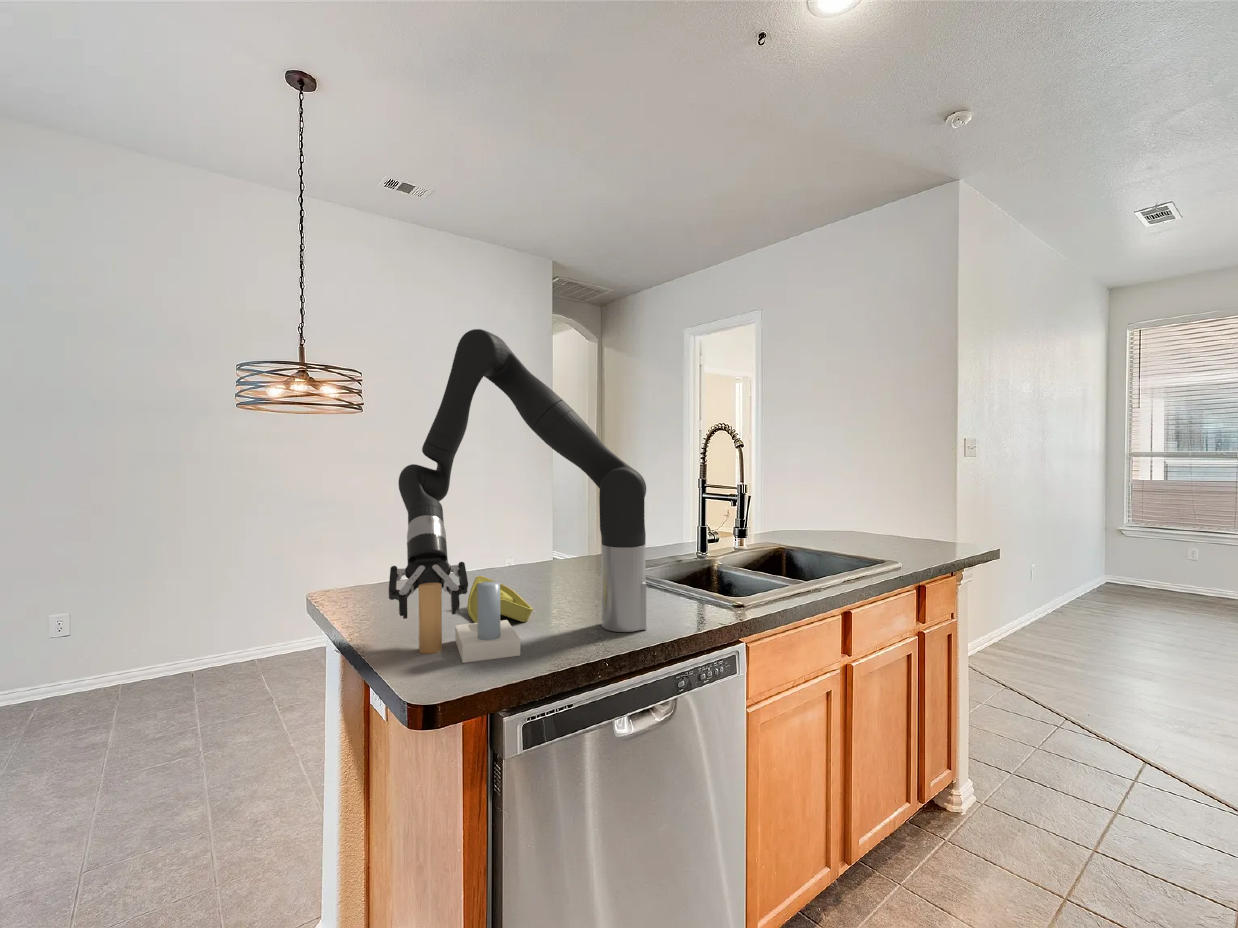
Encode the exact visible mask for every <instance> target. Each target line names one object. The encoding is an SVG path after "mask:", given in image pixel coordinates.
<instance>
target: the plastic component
mask: <svg viewBox="0 0 1238 928" xmlns="http://www.w3.org/2000/svg"><path fill="white" fill-rule="evenodd" d="M482 582H497V581H495V580H494V579H490V578H488V577H486V576H482V575H477V576H476V577H475V578H474V581H473V583H472V586H471V588H470V592H469V594H468V599H467V613H468V615H469V618H470V619H471V620H472V621H473V623H478V584H479V583H482ZM533 610H534V608H533V607H532V606H531V605H530V604H529V603H527V601H525V600H524V599H523V598H522V597H521V596H520V595H519V594H518V593H517V592H515V591H514V590H513V589H511V588H510V587H508V586H506V585H504V584H502V583H500V616H505V617H507V618H509V619H513V620H516V621H518V622H521V623H526V622H528V621H529V618H531V617H530V616H531V614H532V612H533Z"/></svg>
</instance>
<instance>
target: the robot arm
mask: <svg viewBox="0 0 1238 928" xmlns="http://www.w3.org/2000/svg"><path fill="white" fill-rule="evenodd" d="M483 377H484V378H486V379H488V381H490V382H491V383H492V384H494V385H495V387H497V388H499V390H500V391H502V392H503V393H504V394H505V395H506V397H508V398H509V399H510V401H511V402H512V404H513V406H514V407H515V409H516V411H517V412H518V413H519V415H520V417H521V418H522V420H523V421H524V422H525V424H526V425H527V426H528V427H529V428H530V429H531V430H532V431H533V432H534V433H535V434H536V436H538V438H540V439H541V441H543V442H544V443H545V444H546V445H548V446H549V448H551V449H552V450H553V451H554V452H556V453H557V454H559V455H560V456H561V457H563V458H565V459H566V460H567V461H569V462H571V464H573V465H575V466H576V467H578V468H579V469H580V470H581V471H582V472H584V473H585V474H586V475H587V476H588V477H589V478H590V480H592V482H593V483H594V484H595V485H596V486H597V487H598V488H599V495H598V499H599V503H598V504H599V505H598V506H599V530H600V535H601V536H600V537H601V628H603V629H604V630H607V631H610V632H617V633H618V632H619V633H628V632H629V633H632V632H637V631H642V630H647V581H646V525H645V499H646V498H645V497H646V494H647V483H646V480H645V478H644V477H643V475H641V473H640V472H639V471H638V470H636V469H634V468H633V467H631V466H630V465H629V464H628V463H626V462H625V461H624V460H622V459H621V457H619V456H618V455H616V454H615V453H614V452H613V451H611V450H610V449H609V448H608V447H607V446H606V445H605V444H604V443H603V442H602V440H601V439H600V438H599V437H598V435H597V434H596V433H595V432H594V431H593V429H592V428H591V427H590V426H589V425H588V424H587V423H586V422H585V421H584V420H583V418H581V417H580V415H579V414H578V413H577V412H576V411H575V410H574V409H573V408H572V407H571V406H570V405H569V404H568V403H567V402H566V401H565V400H563V399H562V397H560V396H559V395H558V394H557V393H556V392H555V391H554V390H552V389H551V388H550V387H549V386H548V385H546V384H545V383H544V382H542V381H541V380H540V379H539V378H537V377H536V376H535V375H534V374H533V373H531V372H530V371H529V369H527V367H526V366H525V365H524V364H523V363H522V362H521V360H520V359H519V358H518V357H517V356H516V354H515V353H514V352H513V351H512V350H511V348H510V347H509V346H508V344H507V343H506V342H505V341H504V340H503V339H502V338H501V337H499V336H498V335H496V334H493V333H492V332H489V331H488V330H484V329H482V328H481V329H480V328H477V329H471V330H468V331H467V332H465V333H464V334H463V335H462V336H461V338H460V339H459V341H458V344H457V347H456V350H455V354H454V357H453V361H452V365H451V368H450V372H449V376H448V380H447V384H446V385H445V386H446V387H445V390H444V392H443V393H444V394H443V396H442V399H441V403H440V405H439V408H438V410H437V412H436V415H435V418H434V420H433V422H432V424H431V426H430V429H429V431H428V433H427V436H426V438H425V440H424V443H422V444H423V445H422V447H421V452H422V453H423V455H424V456H425V457H426V458H427V459H430V460H431V461H432V462H434V463H436V466H437V467H436V469H433V468H429V467H426V466H423V465H419V464H411V463H410V464H408V465H407V466H405V467H403V469H402V470H401V471H400V474H399V476H398V489H399V493H400V496H401V498H402V502H403V504H404V507H405V509H406V511H407V512H406V513H407V533H406V546H407V547H406V549H407V550H406V551H407V554H406V555H407V566H406V567H405V568H398V566H396V565H391V566H390V570H389V582H388V600H390V601H393V600H396V601H398V614H399V616H400V617H402V618H403V619H404V620H405V619H408V598H409V597H410V596H411V595H413V594H414V593H415V591H416V590H417V589H419V585H420V584H424V583H441V584H442V591H444V592H447V593H448V594H449V595H450V607H451V610H450V611H451V615H456V614H457V612H459V610H460V605H461V604H460V603H461V602H460V595H466V594H467V593H468V588H469V580H468V574H467V569H466V563H465V562H464V561H459V563H458V564H454V565H450V562H449V560H448V559H449V558H448V548H447V544H448V543H447V534H446V529H445V523H444V511H443V510H444V509H443V506H442V504H441V501H442V500H443V499H444V498H445V497H446V496H447V495H448V493H449V488H450V483H451V482H450V481H451V474H452V469H453V463H454V459H455V457H456V455H457V452H458V450H459V447H460V445H461V444H462V443H461V442H462V441H463V439H464V436H465V433H466V430H467V427H468V423H469V416H470V415H469V414H470V410H471V404H472V402H473V401H472V400H473V398H474V396H475V395H474V394H475V392H476V390H477V388H478V386H479V384H480V383H481V380H482V379H483ZM451 573H453V574H454V576H456V577H458V582H459V585H458V584H456V583H455V582H454V581H453V579H452V578H451V577H450V574H451ZM403 576H405V577H406V579H407V581H406V582H405V584H404V586H402V588H401V589H397V582H399V581H401V580H402V578H403Z"/></svg>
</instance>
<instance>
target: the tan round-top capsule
mask: <svg viewBox="0 0 1238 928" xmlns="http://www.w3.org/2000/svg"><path fill="white" fill-rule="evenodd" d="M442 591H443V589H442V584H441V583H424V584H420V585H419V588H418V651H419V652H418V653H420V654H425V655H426V654H427V655H428V654H435V653H439V652H440V651H442V649H443V644H442V643H443V641H442V640H443V633H442V632H443V626H442V624H443V623H442V621H443V619H442V618H443V616H442V614H443V611H442V608H443V607H442V605H443V603H442V602H443V601H442V599H443V597H442V596H443V595H442Z"/></svg>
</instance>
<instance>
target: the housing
mask: <svg viewBox="0 0 1238 928" xmlns="http://www.w3.org/2000/svg"><path fill="white" fill-rule="evenodd" d="M500 584H501V583H500V582H499V581H496V582H482V583H479V584H478V623H474V622H473V623H472V622H471V623H464V624H455V625H454V627H455V628H454V629H455V630H454V631H455V635H454V637H455V639H454V640H455V643H456V646H457V651H458V653H459V656H460V658H461V662H462V664H465V663H472V662H480V661H487V660H488V661H489V660H495V659H496V660H497V659H504V658H511V657H519V656H521V638H520V636H519V635H518V634H517V632H516V630H515V629H514V628H513V626H512V625H511V623H510V622H509V620H508V619H502V620H501V614H500Z"/></svg>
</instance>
